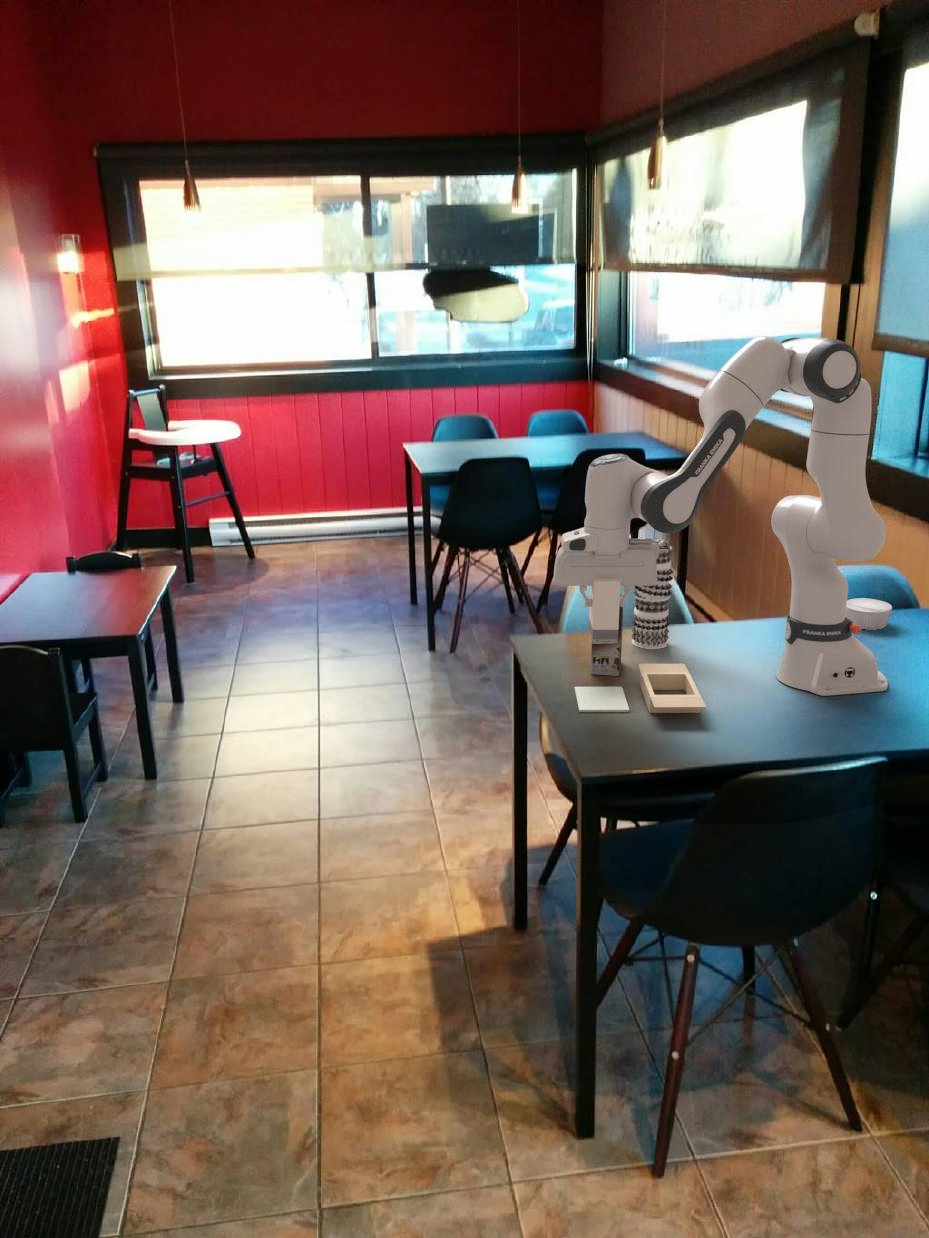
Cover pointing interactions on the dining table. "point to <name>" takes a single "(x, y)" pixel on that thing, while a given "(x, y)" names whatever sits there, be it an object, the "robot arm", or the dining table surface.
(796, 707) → the dining table surface
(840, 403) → the robot arm
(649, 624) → the decorative candle
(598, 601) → the cream box
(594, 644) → the coffee box
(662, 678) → the beige hollow rectangular block
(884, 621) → the ramekin
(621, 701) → the white rectangular plate
